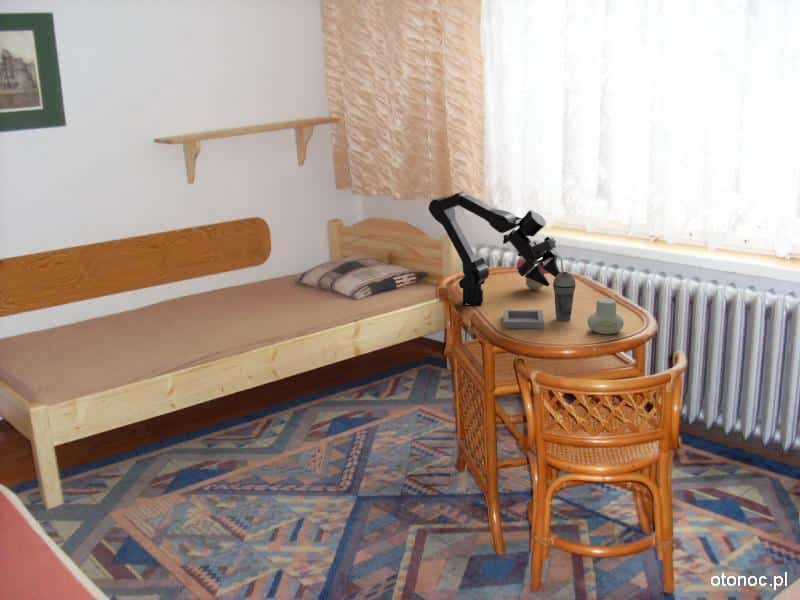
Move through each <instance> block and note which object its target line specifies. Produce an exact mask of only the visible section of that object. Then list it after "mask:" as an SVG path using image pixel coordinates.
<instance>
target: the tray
mask: <svg viewBox="0 0 800 600" xmlns="http://www.w3.org/2000/svg"><path fill="white" fill-rule="evenodd" d="M502 311H503V312H502V313H503V314H502V316H503V317H502V325H503V326H502V329H503V330H521V329H539V330H540V331H544V330H545V320H544V319H545V318H544V313H543V310H542V309H503V310H502Z"/></svg>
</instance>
